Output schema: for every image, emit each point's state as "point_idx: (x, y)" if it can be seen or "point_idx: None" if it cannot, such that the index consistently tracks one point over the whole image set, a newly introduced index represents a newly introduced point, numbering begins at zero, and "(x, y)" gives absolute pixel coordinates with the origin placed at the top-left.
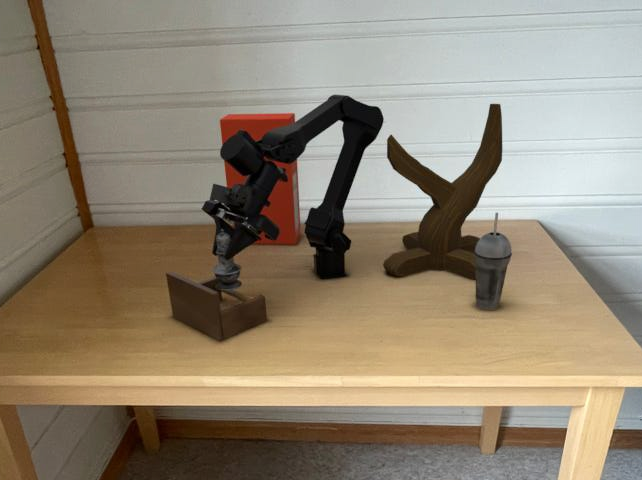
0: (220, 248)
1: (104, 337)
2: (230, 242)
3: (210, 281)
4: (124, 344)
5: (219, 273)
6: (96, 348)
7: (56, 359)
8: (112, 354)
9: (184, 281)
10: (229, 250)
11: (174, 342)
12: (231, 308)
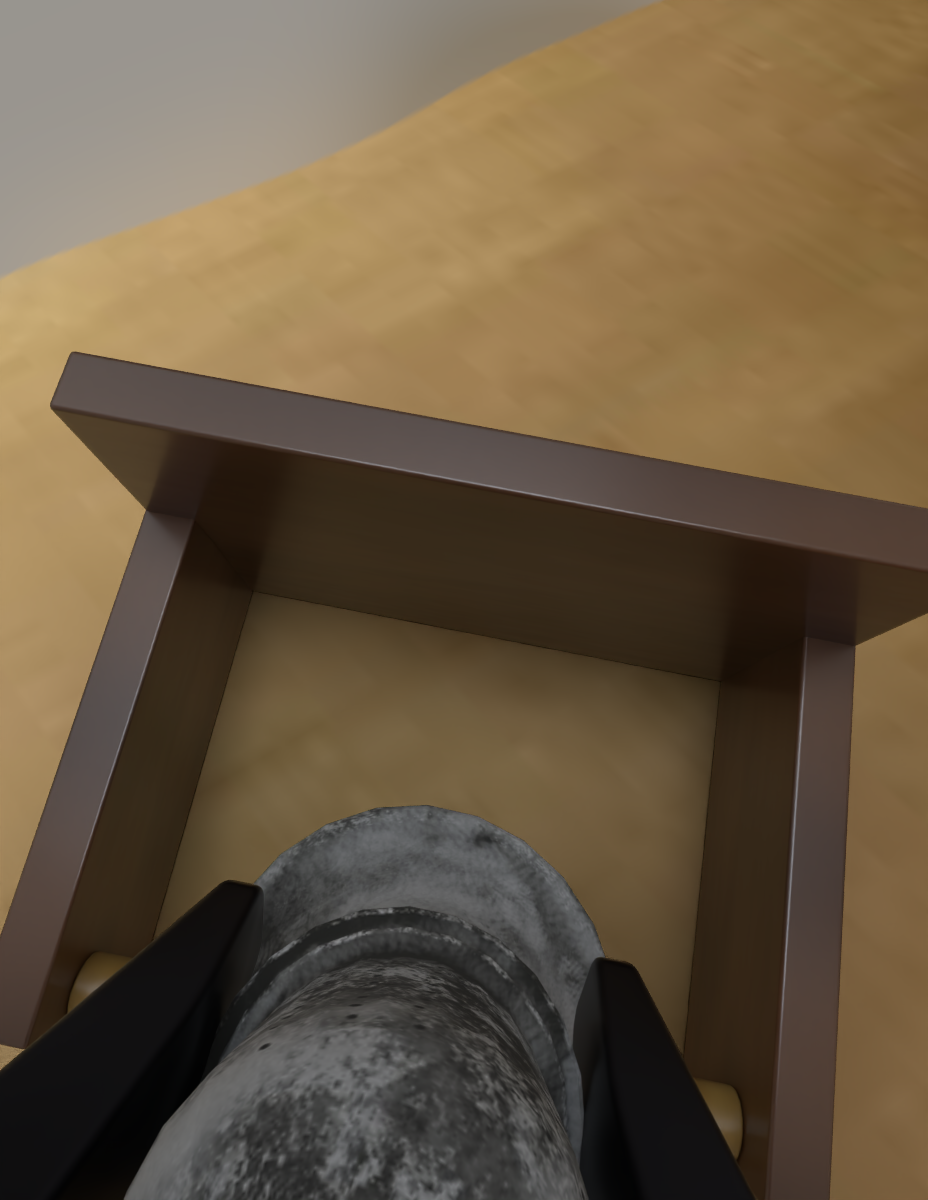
0: (357, 972)
1: (868, 267)
2: (29, 1186)
3: (773, 1056)
4: (701, 267)
5: (384, 820)
6: (786, 177)
7: (843, 37)
8: (658, 176)
9: (604, 450)
10: (90, 994)
11: (472, 411)
12: (130, 635)
